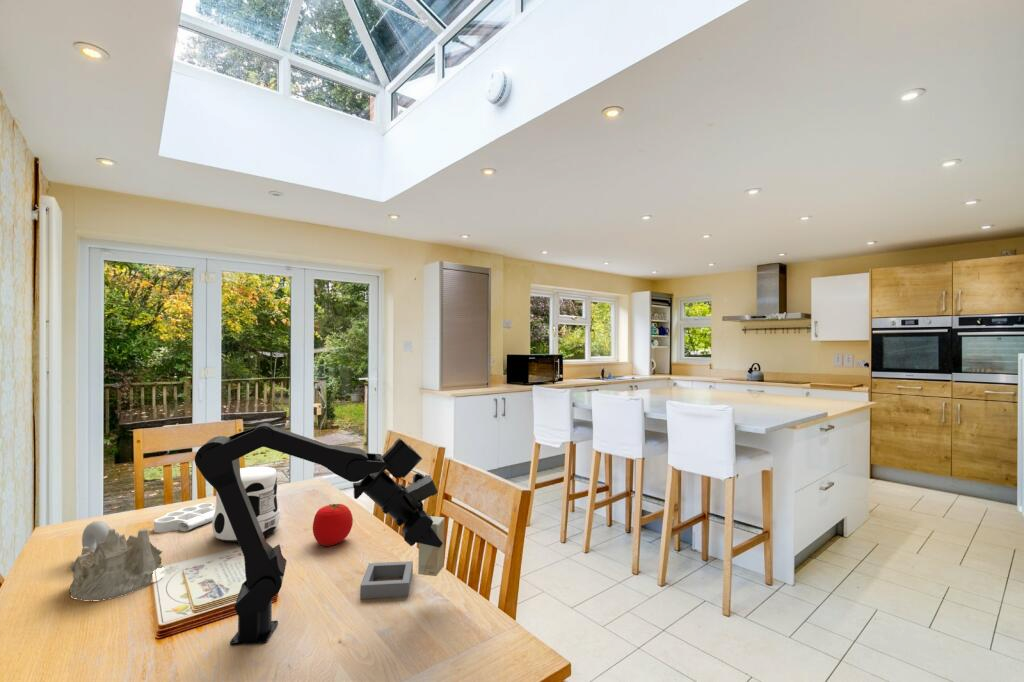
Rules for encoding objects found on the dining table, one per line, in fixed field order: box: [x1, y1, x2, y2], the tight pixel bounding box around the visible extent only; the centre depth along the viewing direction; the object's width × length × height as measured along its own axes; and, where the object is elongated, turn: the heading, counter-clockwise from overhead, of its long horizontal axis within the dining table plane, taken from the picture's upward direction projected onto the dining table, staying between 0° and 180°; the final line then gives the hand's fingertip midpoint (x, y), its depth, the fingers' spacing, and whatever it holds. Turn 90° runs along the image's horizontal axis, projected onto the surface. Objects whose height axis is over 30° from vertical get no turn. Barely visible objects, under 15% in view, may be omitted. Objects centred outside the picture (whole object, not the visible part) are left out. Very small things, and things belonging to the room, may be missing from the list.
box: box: [417, 515, 446, 577], centre depth 104 cm, size 5×4×11 cm
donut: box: [81, 520, 111, 552], centre depth 121 cm, size 10×4×10 cm, turn 66°
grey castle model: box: [69, 528, 165, 601], centre depth 110 cm, size 16×16×15 cm
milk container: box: [211, 466, 281, 543], centre depth 138 cm, size 17×17×18 cm
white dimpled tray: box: [153, 502, 216, 534], centre depth 147 cm, size 3×18×15 cm
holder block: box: [359, 560, 414, 600], centre depth 110 cm, size 10×10×3 cm
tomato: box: [312, 503, 354, 547], centre depth 133 cm, size 10×11×11 cm
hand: (437, 539), depth 104 cm, fingers closed on box, 6 cm apart
